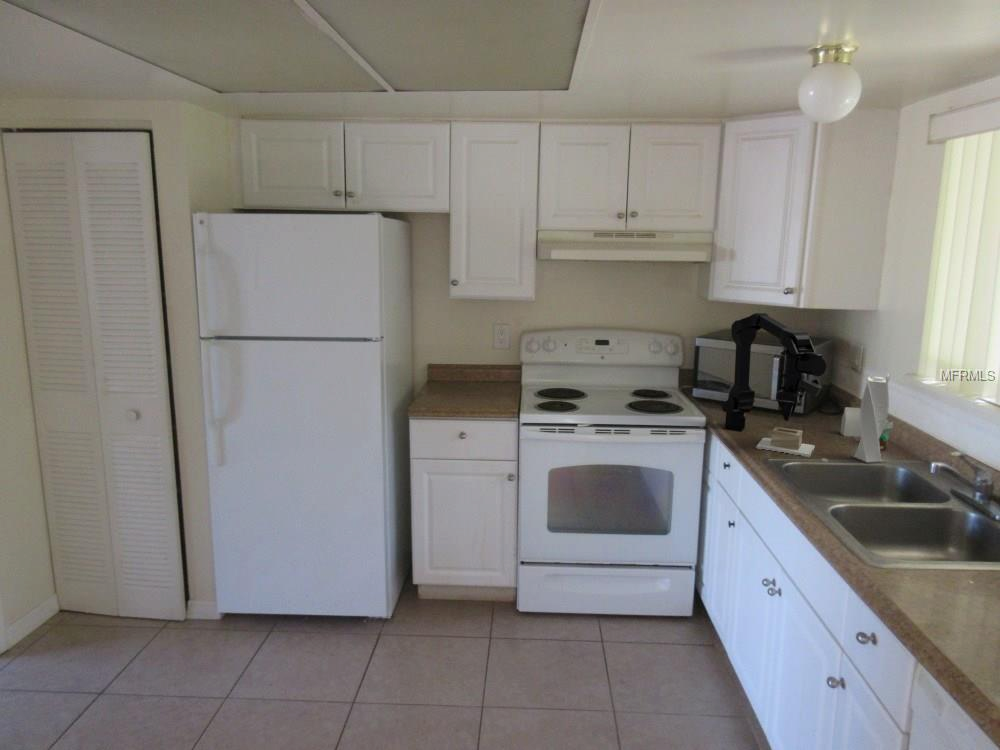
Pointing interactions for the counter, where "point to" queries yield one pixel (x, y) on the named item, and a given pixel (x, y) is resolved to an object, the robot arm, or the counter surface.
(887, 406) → the skyscraper
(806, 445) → the post stand
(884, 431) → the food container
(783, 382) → the robot arm
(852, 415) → the tea bag
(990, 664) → the counter surface
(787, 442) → the beige open box
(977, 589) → the counter surface
